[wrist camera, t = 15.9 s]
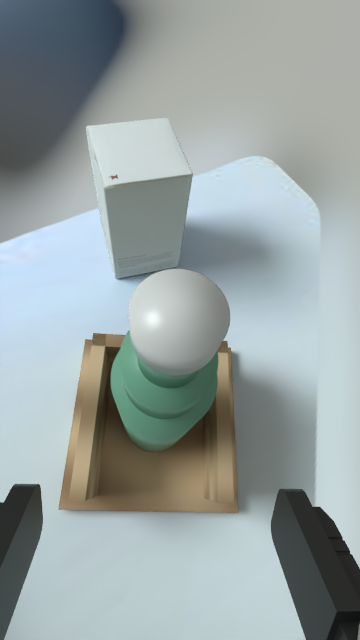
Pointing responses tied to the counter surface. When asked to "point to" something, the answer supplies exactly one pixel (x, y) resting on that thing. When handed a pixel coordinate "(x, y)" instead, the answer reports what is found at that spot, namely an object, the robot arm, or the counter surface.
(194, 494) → the U stand
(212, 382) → the green bottle
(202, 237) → the counter surface
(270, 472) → the counter surface
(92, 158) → the supplement box
